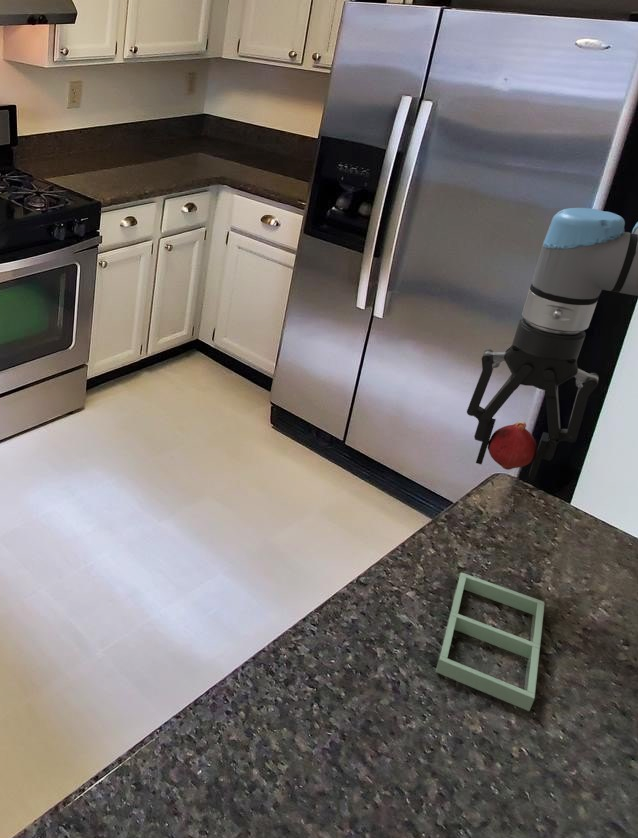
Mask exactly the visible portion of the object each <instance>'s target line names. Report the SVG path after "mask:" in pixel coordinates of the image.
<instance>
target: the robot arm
mask: <svg viewBox="0 0 638 838" xmlns="http://www.w3.org/2000/svg"><path fill="white" fill-rule="evenodd" d="M625 225H626V221H625V219H624V218H623V217H622V216H621V215H618V214H617V213H615V212H611V211H604V210H601V209H597V208H596V209H595V208H589V207H569V208H564V209H561V210H559V211H558V212H556V213H555V214H554V215H553V217H552V219H551V222H550V224H549V227H548V230H547V232H546V234H545V237H544V239H543V243H542V246H541V250H540V253H539V256H538V259H537V263H536V266H535V270H534V273H533V276H532V279H531V283H530V286H529V288H528V293H527V296H526V298H525V302H524V305H523V309H522V312H521V316H522V318H521V319H520V320H519V321H518V325H517V327H516V330H515V334H514V337H513V340H512V343H511V346H510V347H508V349H506V350H505V351H494V350H492V349H489V348H487V349H485V350H484V351H483V353H482V356H481V369H482V371H481V373H480V375H479V378H478V381H477V383H476V385H475V386H476V387H475V389H474V391H473V393H472V395H471V398H470V402H469V404H468V407H467V409H466V414H467V415H468V416H470V417H474V418H476V419H477V426H476V430H475V433H474V436H473V437H474V440H475V441H478V442H481V445H480V448H479V451H478V455H477V458H476V460H475V464H478V465H482V464H483V461H484V458H485V456H486V452H487V450H488V443H489V440H490V438H491V436H492V434H493V430H494V427H495V423H496V421H497V419H496V418H493V417H495V415H496V414H497V413H498V411H499V410H500V409H501V408H502V406H503V405H505V403H506V401H508V399H509V398H510V397H511V396H512V395H513V393H514V392H515V391H516V390H517V389H518V388H519V387H520V386H527V387H528V386H529V387H534V388H536V389H538V390H542V391H544V396H545V405H546V406H545V407H546V418H547V419H546V420H547V432H545V431H543V432H542V434H541V437H540V440H539V443H538V445H537V451H536V456H535V458H534V460H533V461H532V462H531V466H530V468H529V473H528V479H529V480H532V481H535V480H536V477H537V474H538V471H539V469H540V466H541V462H542V460H545V461H549V462H550V461H551V460H552V459H553V458H554V456H555V452H556V450H557V447H558V444H559V443H561V442H568V443H570V444H571V443H572V444H573V443H575V442H577V440H578V436H579V433H580V429H581V425H582V422H583V418H584V415H585V411H586V407H587V404H588V400H589V397H590V395H591V394H592V393H593V391H594V390H595V389H596V388H597V387H598V386H599V378H600V377H599V375H598V373H596V372H590V373H589V372H586V371H585V370H582V369H581V368H579V364H578V358H579V356H580V352H581V349H582V346H583V344H584V341H585V338H586V335H587V334H586V332H585V330H587V329H589V327H590V323H591V321H592V319H593V315H594V313H595V309H596V306H597V303H598V301H599V299H600V295H601V293H602V291H608V292H611V293H612V292H613V293H620V294H626V295H631V296H635V297H636V296H637V297H638V221H637V222H636V223H635V225H634V226H633V228H632V231H631V232H629V231H625ZM502 362H505V364H506V365H507V368H508V370H509V371H510V373H511V374H510V375H509V377H508V379H506V381H505V383H503V385H502V386H501V387H500V388H499V390H498V391H497V392H496V393H495V395H494V396H493V397H492V399H491V400H489V402H488V404H487V405H486V406H485V407H482V406H480V405H481V402H482V401H483V397H484V394H485V392H486V390H487V387H488V385H489V382H490V380H491V377H492V374H493V371H494V369H496V368H499V366H500V364H501V363H502ZM573 377H574V378H575V386H576V387H577V392H576V396H575V399H574V402H573V407H572V410H571V414H570V417H569V422H568V425H567V428H561V415H560V401H559V385H561V384H563V383H565V382H567V381H568V380H570V379H572V378H573Z"/></svg>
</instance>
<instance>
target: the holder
mask: <svg viewBox="0 0 638 838" xmlns="http://www.w3.org/2000/svg"><path fill="white" fill-rule="evenodd" d="M464 591H466V592H470V593H473V594H474V595H477V596H480V597H483V598H486V599H489V600H492V601H495V602H497V603H500V604H503V605H505V606H509V607H511V608H514V609H516V610H519V611H522V612H524V613H527V614H530V615H532V618H531V628H530V636H529V640H528V639H526V638H523V637H521V636H518V635H515V634H513V633H510V632H508V631H505V630H502V629H499V628H497V627H494V626H491V625H489V624H486V623H484V622H481V621H478V620H475V619H474V618H470V617H468V616H466V615H463V614H460V613H459V611H460V607H461V602H462V599H463V598H462V597H463V593H464ZM544 611H545V601H544V600H540V599H537V598H534V597H533V596H529V595H527V594H524V593H521V592H518V591H515V590H513V589H510V588H507V587H504V586H501V585H498V584H495V583H492V582H490V581H487V580H484V579H482V578H478V577H477V576H473V575H470V574H467V573H466V572H465V573H464V572H459V576H458V580H457V582H456V586H455V590H454V595H453V598H452V602H451V607H450V610H449V615H448V619H447V623H446V627H445V631H444V634H443V639H442V642H441V647H440V651H439V655H438V659H437V663H436V667H435V673H437V674H440V675H441V676H444V677H447V678H448V679H451V680H453V681H456V682H458V683H460V684H463V685H465V686H468V687H469V688H473V689H475V690H477V691H479V692H482V693H485V694H487V695H489V696H492V697H494V698H496V699H498V700H501V701H504V702H506V703H509V704H510V705H513V706H515V707H518V708H520V709H522V710H525V711H527V712H530V711H531V709H532V706H533V704H534V702H535V699H536V691H537V681H538V672H539V671H538V670H539V662H540V651H541V644H542V643H541V642H542V633H543V625H544V624H543V623H544V613H545V612H544ZM455 631H457V632H458V633H461V634H465V635H467V636H469V637H471V638H475V639H477V640H479V641H482V642H485V643H488V644H490V645H493V646H495V647H498V648H500V649H503V650H505V651H508V652H510V653H513V654H516V655H518V656H521V657H523V658H525V659H527V660H526V669H525V678H524V686H523V688H521V687H518V686H516V685H513V684H511V683H508V682H506V681H504V680H501V679H499V678H497V677H494V676H491V675H489V674H486V673H485V672H482V671H479V670H477V669H474V668H473V667H470V666H468V665H464V664H463V663H459V662H457V661H455V660H452V659H450V658H448V657H449V653H450V649H451V645H452V641H453V636H454V632H455Z"/></svg>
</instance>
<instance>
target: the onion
mask: <svg viewBox="0 0 638 838" xmlns="http://www.w3.org/2000/svg"><path fill="white" fill-rule="evenodd" d="M537 448H538V445H537V442H536V439H535V437H534V436H533V435H532V433H531V432H530V431H529V430H528V429H527V424H526V422H525V421H518V422H516V423H514V424H510V425H505V426H502V427H499V428H498V429H497V430H495V431H494V432H492V434H491V436H490V440H489V443H488V446H487V450H488V453H489V455H490V457H491V458H492V460H493V461H494V462H495V463H496V464H498V465H499V466H500V467H502V468H503V469H504V470H507V471H508V470H509V471H511V470H513V469H517V468H523V467H527V466H528V465H530V464H531V463H533V460H534V458H535V456H536V451H537Z"/></svg>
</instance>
